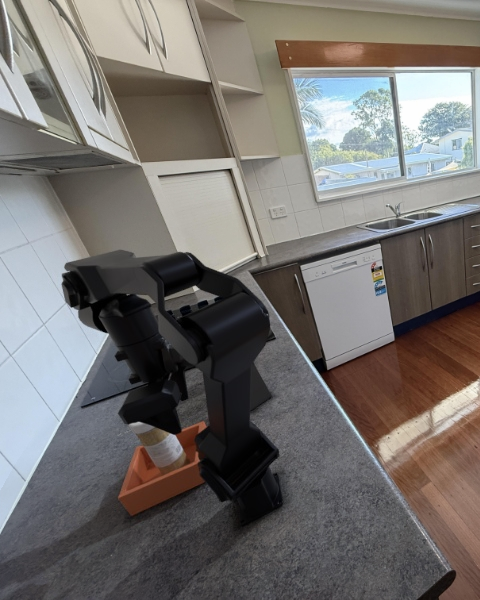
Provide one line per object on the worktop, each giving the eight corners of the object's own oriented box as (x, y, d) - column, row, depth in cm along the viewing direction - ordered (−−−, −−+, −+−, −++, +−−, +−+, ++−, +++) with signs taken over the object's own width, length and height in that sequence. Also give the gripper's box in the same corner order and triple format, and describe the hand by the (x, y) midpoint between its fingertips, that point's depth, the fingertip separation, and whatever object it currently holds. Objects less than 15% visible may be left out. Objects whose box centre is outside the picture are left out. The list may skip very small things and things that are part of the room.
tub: (209, 480, 56) (199, 462, 54) (131, 516, 52) (117, 498, 50) (212, 436, 66) (203, 420, 64) (146, 463, 61) (135, 447, 59)
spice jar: (171, 461, 60) (138, 408, 55) (195, 456, 61) (165, 403, 55) (157, 483, 56) (120, 427, 51) (183, 478, 56) (149, 422, 51)
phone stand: (272, 397, 75) (256, 355, 70) (248, 413, 71) (230, 370, 66) (253, 385, 80) (237, 345, 75) (230, 399, 76) (211, 358, 71)
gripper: (193, 344, 42) (233, 429, 48) (203, 301, 58) (232, 370, 64) (90, 375, 38) (148, 465, 44) (130, 320, 53) (169, 392, 60)
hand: (182, 415), depth 53 cm, fingers open, 9 cm apart
